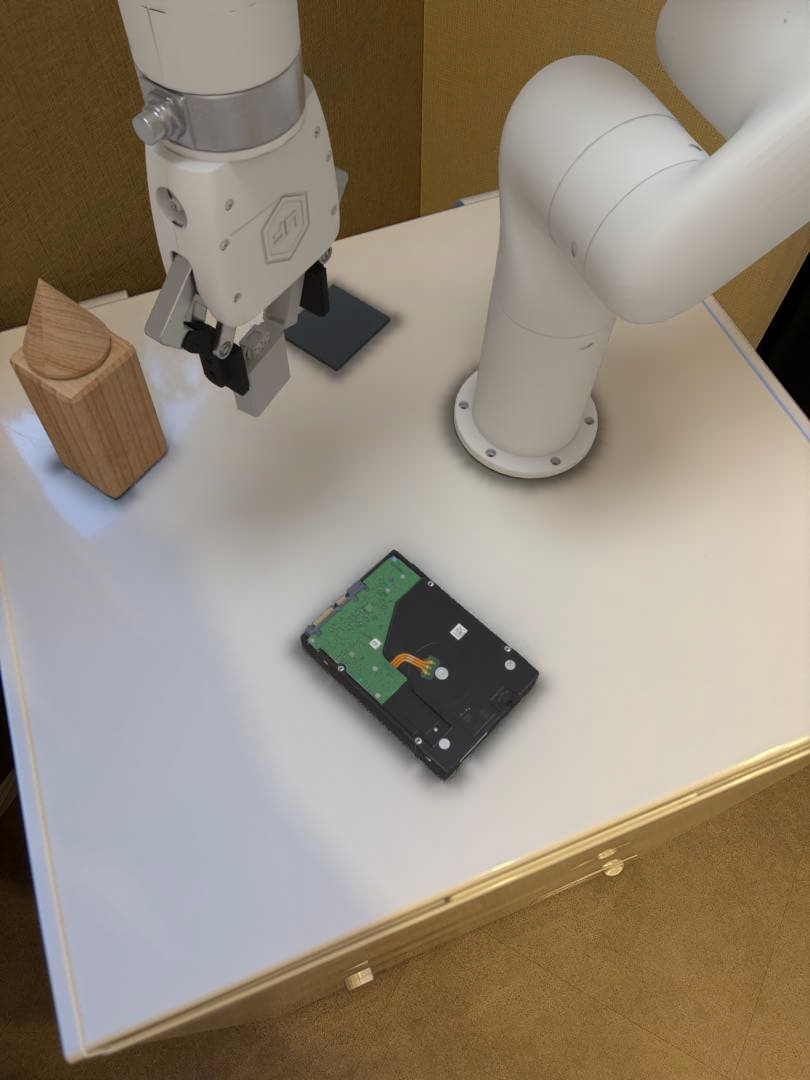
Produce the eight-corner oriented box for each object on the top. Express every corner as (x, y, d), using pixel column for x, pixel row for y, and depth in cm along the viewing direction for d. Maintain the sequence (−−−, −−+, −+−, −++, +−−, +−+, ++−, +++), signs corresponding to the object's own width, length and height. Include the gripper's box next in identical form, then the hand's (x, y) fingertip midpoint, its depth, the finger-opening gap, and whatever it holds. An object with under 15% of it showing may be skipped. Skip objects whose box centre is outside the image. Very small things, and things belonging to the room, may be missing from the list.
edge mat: (333, 286, 86) (333, 283, 86) (390, 320, 84) (390, 317, 84) (278, 334, 83) (278, 331, 82) (336, 371, 81) (336, 368, 80)
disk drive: (536, 684, 66) (391, 562, 71) (543, 670, 64) (393, 545, 69) (445, 785, 62) (298, 649, 67) (448, 774, 60) (295, 634, 64)
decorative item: (115, 413, 77) (42, 229, 60) (172, 450, 76) (114, 271, 58) (58, 463, 75) (-35, 285, 57) (116, 503, 73) (38, 332, 56)
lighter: (257, 418, 58) (239, 333, 51) (235, 407, 58) (214, 321, 51) (315, 346, 61) (305, 256, 54) (294, 336, 61) (281, 246, 54)
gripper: (153, 221, 37) (223, 463, 52) (397, 23, 44) (396, 288, 59) (27, 150, 39) (130, 403, 54) (279, -27, 46) (308, 241, 61)
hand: (269, 342), depth 57 cm, fingers closed on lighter, 7 cm apart
